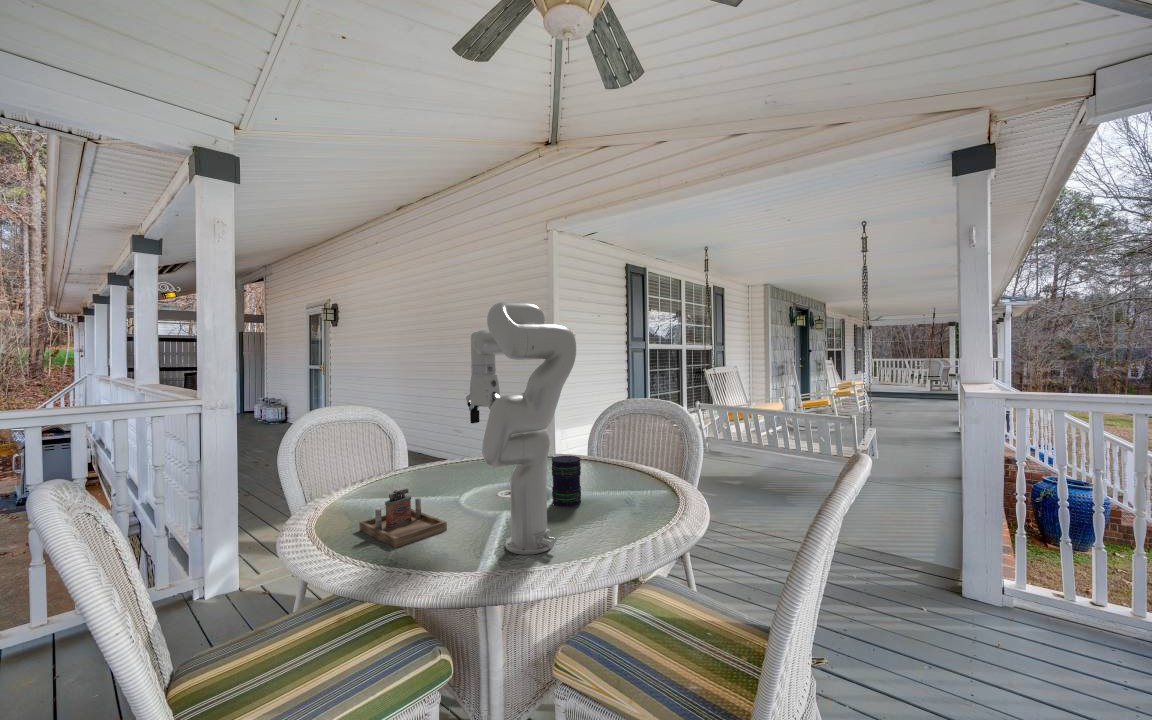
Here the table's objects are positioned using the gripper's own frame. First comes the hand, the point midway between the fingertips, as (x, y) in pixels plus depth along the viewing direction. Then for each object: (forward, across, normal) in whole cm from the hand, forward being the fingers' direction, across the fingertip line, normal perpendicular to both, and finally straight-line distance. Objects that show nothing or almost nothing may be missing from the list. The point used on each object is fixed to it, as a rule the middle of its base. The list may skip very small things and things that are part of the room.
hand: (484, 424), depth 155 cm
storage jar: (+28, -14, -23) cm, 39 cm away
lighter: (+27, +9, +25) cm, 38 cm away
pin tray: (+28, +7, +25) cm, 38 cm away
